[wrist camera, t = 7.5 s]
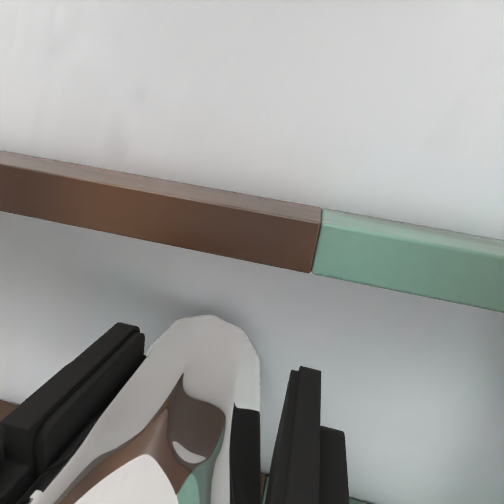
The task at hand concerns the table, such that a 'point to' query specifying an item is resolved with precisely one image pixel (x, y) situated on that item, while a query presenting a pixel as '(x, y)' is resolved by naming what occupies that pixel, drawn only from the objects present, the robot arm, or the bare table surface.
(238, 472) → the milkshake
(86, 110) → the table surface
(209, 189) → the slide track
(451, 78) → the table surface
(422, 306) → the table surface
